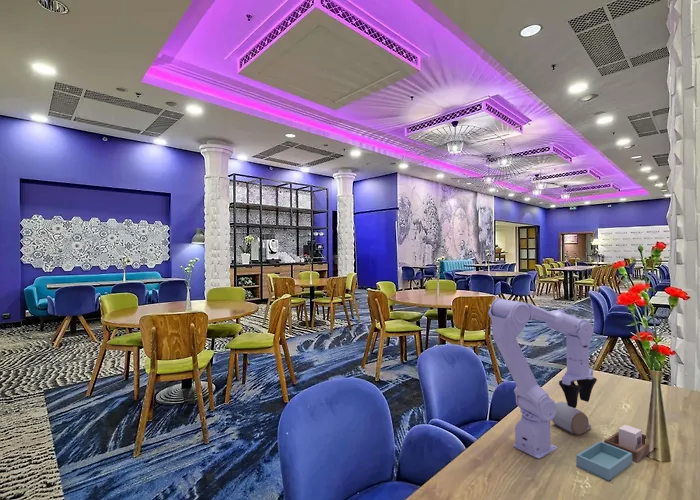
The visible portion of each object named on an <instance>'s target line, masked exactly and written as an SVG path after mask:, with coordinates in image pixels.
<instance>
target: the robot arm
mask: <svg viewBox="0 0 700 500" xmlns="http://www.w3.org/2000/svg"><path fill="white" fill-rule="evenodd" d="M489 307H490V308H489V310H488V316H489V318H490V319H491V326H492V328H491V329H492V338H493V340H494V343H495V345H496V346H497V349H498V350H499V352H500V354H501V356H502V358H503V361H504V363H505V365H506V367H507V369H508V371H509V373H510V376H511V377H512V379H513V382H514V384H515V388H514V390H513V393H514V394H515V403H516V406H518V408H519V409H520V410H519V411H520V413H521V418H520V419H519V421H517V423H516V424H515V428H514V430H515V433H514V434H515V443H514V444H512V447H513V448H515V449H518V450H520V451H521V452H523V453H525V454H527V455H530V456H532V457H534V458H536V459H542V458H543V457H545V456H547V455H549V454H550V453H552V452H553V451H555V450H557V449H558V446H556V445H554V444H551V422H553V421H552V419H553V418H554V416H555V415H556V411H557V407H556V403H557V402H555V400H553V399H552V398H551V397H550V396H549V394H548V392H547V391H546V390H545V389H544V388H542V387H541V385H539V384H538V382H537V380H536V377H535V376H534V374H533V372H532V370H531V367H530V365H529V363H528V360H527V359H526V357H525V355H524V353H523V350H522V348H521V346H520V344H519V342H518V340H517V337H518V336H519V335H520V334H521V332H522V331H523V330H524V329H525V327H526V325H528V322H529V321H533V319H535V320H537V321H542V322H544V323H545V324H546V326H547V327H548V328H549V329H550V330H554V331H557V332H559V333H562V334H563V335H564V336H566V337H565V338H566V339H565V340H566V344H565V345H566V346H565V347H566V371H565V373H564V375H563V376H561V380H559V381H558V385H559V387H560V388H561V390H562V393H563V394H564V397H565V400H566V403H567V404H568V406H570V407H573V408H576V409H577V407H578V400H579V399H580V400H581V401H583V402H586V403H589V401H590V399H591V394H592V390H593V388H594V387H595V384H596V383H597V381H598V380H597V379H598V378H596V377H594V369H593V368H590V350H589V347H590V345H591V343H592V342H591V341H592V340H591V339H592V337H593V334H594V332H595V331H594V330H595V329H594V328H593V326H592V324H591V323H590V322H589V320H587V319H581V318H577V315H575V314H568V313H566V312H565V310H563V309H558V308H557V310H556V309H555V310H551V311H549V310H547V309H544V308H541V307H540V306H537V305H535V304H532V303H528V302H524V301H516V300H511V299H509V300H508V299H504V298H502V297H499V298H496V299H494V300H493V301H492V302H491V304H490V306H489ZM578 398H579V399H578Z"/></svg>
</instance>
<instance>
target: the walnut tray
mask: <svg viewBox="0 0 700 500" xmlns="http://www.w3.org/2000/svg"><path fill="white" fill-rule="evenodd" d="M646 435H647V434H644V433H642V446H641V447H640V448H638V449H637V450H636V451H634V450H631V449H628V448H626V447H623V446H621V445H619V431H617V432H616V433H614V434H612V435H611V436H609V437H606V439H604V440H603V442H604V443H607V444H609V445H612V446H614V447H617V448H620V449H622V450H625V451H627V452H630V453H632V462H634V463H639V462H640V461H641V460H643V459H644V458H645V457H646V456H648V455H649V454H650V453H649V443H648V442H647V443H646V444H645V439H646ZM648 453H649V454H648Z"/></svg>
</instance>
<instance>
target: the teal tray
mask: <svg viewBox="0 0 700 500" xmlns="http://www.w3.org/2000/svg"><path fill="white" fill-rule="evenodd" d="M575 457H576V458H575V459H576V462H575V463H576V467H577V468H579V469H581V470H584V471H585V472H588V473H590V474H592V475H594V476H595V477H596V476H597V477H599V478H601V479H603V480H605V481H606V482H611V481H612V479H613V478H615V477H616V476H617V475H618V474H620V473H622V472H623V471H624V470H626V469H627V468H628V467H629V466H632V464H633V461H632V453H630V452H627V451H625V450H622V449H620V448H617V447H614V446H612V445H609V444H607V443H604V441H601V440H599V441H597V442H596V443H594V444H592V445H591V446H589V447H587V448H585V449H584V450H582V451H580V452H579V453H577V454H576V455H575Z"/></svg>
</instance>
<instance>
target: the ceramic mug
mask: <svg viewBox="0 0 700 500" xmlns="http://www.w3.org/2000/svg"><path fill="white" fill-rule="evenodd" d="M555 403H556V407H557V411H556V415H555V416H554V418H553V419H552V421H551V422H552V423H553V424H555V425H556V426H557V427H560V428H561V429H563V430H565V431H566V432H569V433H570V434H573V435H578V436H579V435H583V434H584V433H586V431H587V430H589V431H590V430H591V426H592V425H591V424H590V422H589V418H588V416H587V415H586V414H585V413H584V412H583V411H581V410H580V409H578V408H577V407H576V408H573V407H570V406H568V404H567V402H565V401H558V402H555Z"/></svg>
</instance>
